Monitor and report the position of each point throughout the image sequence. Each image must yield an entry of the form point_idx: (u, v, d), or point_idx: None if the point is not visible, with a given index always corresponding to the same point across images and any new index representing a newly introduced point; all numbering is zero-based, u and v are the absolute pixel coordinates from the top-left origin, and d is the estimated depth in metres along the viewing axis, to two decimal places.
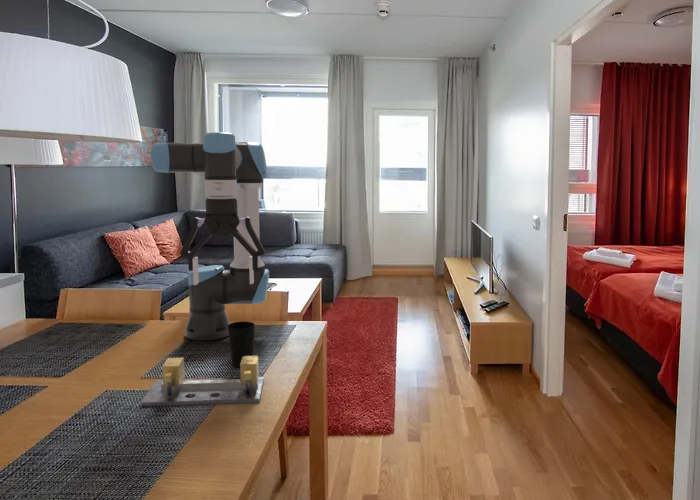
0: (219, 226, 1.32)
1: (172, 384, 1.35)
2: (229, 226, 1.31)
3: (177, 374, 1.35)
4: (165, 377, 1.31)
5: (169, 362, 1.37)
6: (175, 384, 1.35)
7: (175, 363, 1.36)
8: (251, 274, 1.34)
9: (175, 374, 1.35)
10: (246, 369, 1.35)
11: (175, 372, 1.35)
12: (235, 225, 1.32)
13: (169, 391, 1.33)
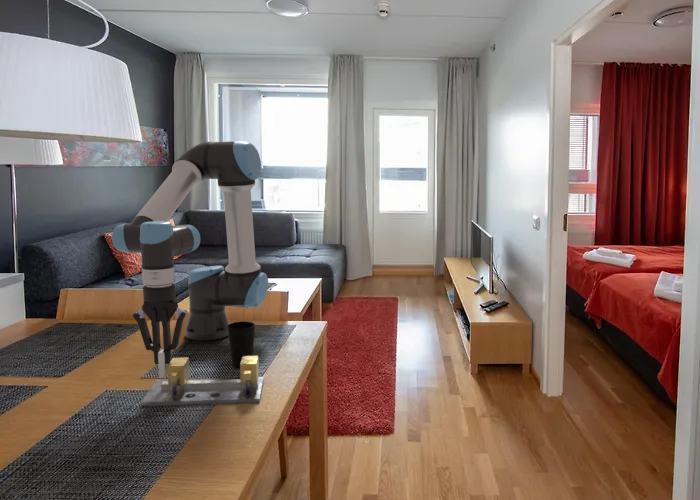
0: (157, 310, 1.34)
1: (177, 384, 1.35)
2: (164, 314, 1.34)
3: (182, 374, 1.35)
4: (170, 377, 1.31)
5: (175, 362, 1.37)
6: (180, 384, 1.35)
7: (180, 363, 1.36)
8: (163, 368, 1.36)
9: (180, 374, 1.35)
10: (246, 369, 1.35)
11: (180, 372, 1.35)
12: (173, 311, 1.34)
13: (174, 391, 1.33)
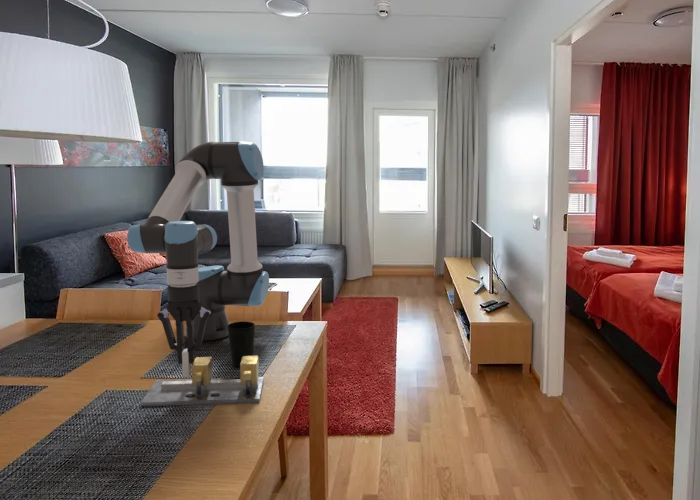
0: (181, 310, 1.34)
1: (201, 383, 1.36)
2: (189, 314, 1.34)
3: (206, 373, 1.35)
4: (195, 376, 1.32)
5: (198, 361, 1.37)
6: (204, 383, 1.36)
7: (204, 362, 1.37)
8: (187, 367, 1.36)
9: (204, 373, 1.35)
10: (246, 369, 1.35)
11: (204, 371, 1.35)
12: (197, 311, 1.35)
13: (199, 390, 1.33)
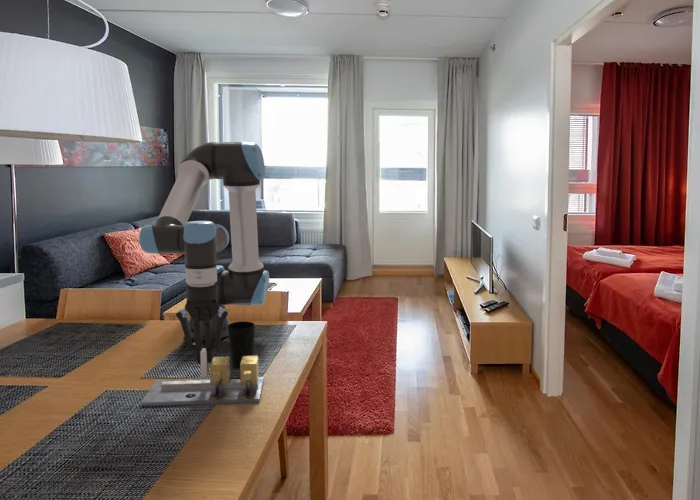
0: (200, 309, 1.35)
1: (219, 383, 1.36)
2: (207, 313, 1.34)
3: (225, 373, 1.36)
4: (214, 376, 1.32)
5: (216, 361, 1.38)
6: (222, 383, 1.36)
7: (222, 362, 1.37)
8: (205, 367, 1.37)
9: (223, 373, 1.36)
10: (246, 369, 1.35)
11: (223, 371, 1.36)
12: (215, 310, 1.35)
13: (217, 390, 1.34)
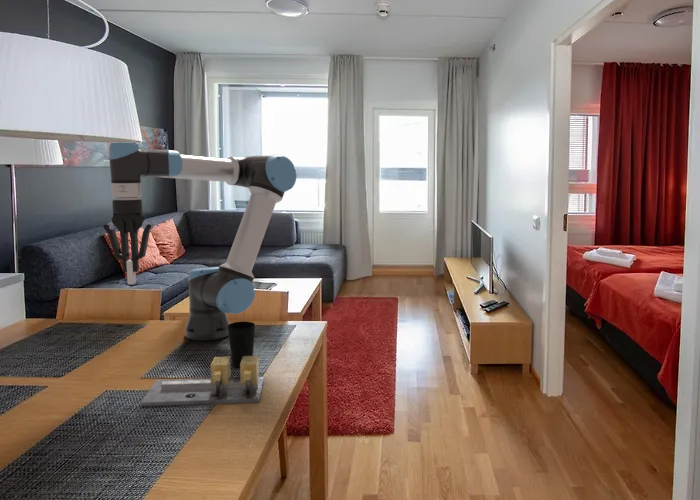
0: (125, 222, 1.49)
1: (220, 383, 1.36)
2: (132, 225, 1.48)
3: (225, 373, 1.36)
4: (215, 376, 1.32)
5: (217, 361, 1.38)
6: (223, 383, 1.36)
7: (223, 362, 1.37)
8: (131, 275, 1.51)
9: (223, 373, 1.36)
10: (246, 369, 1.35)
11: (223, 371, 1.36)
12: (139, 223, 1.49)
13: (218, 390, 1.34)
